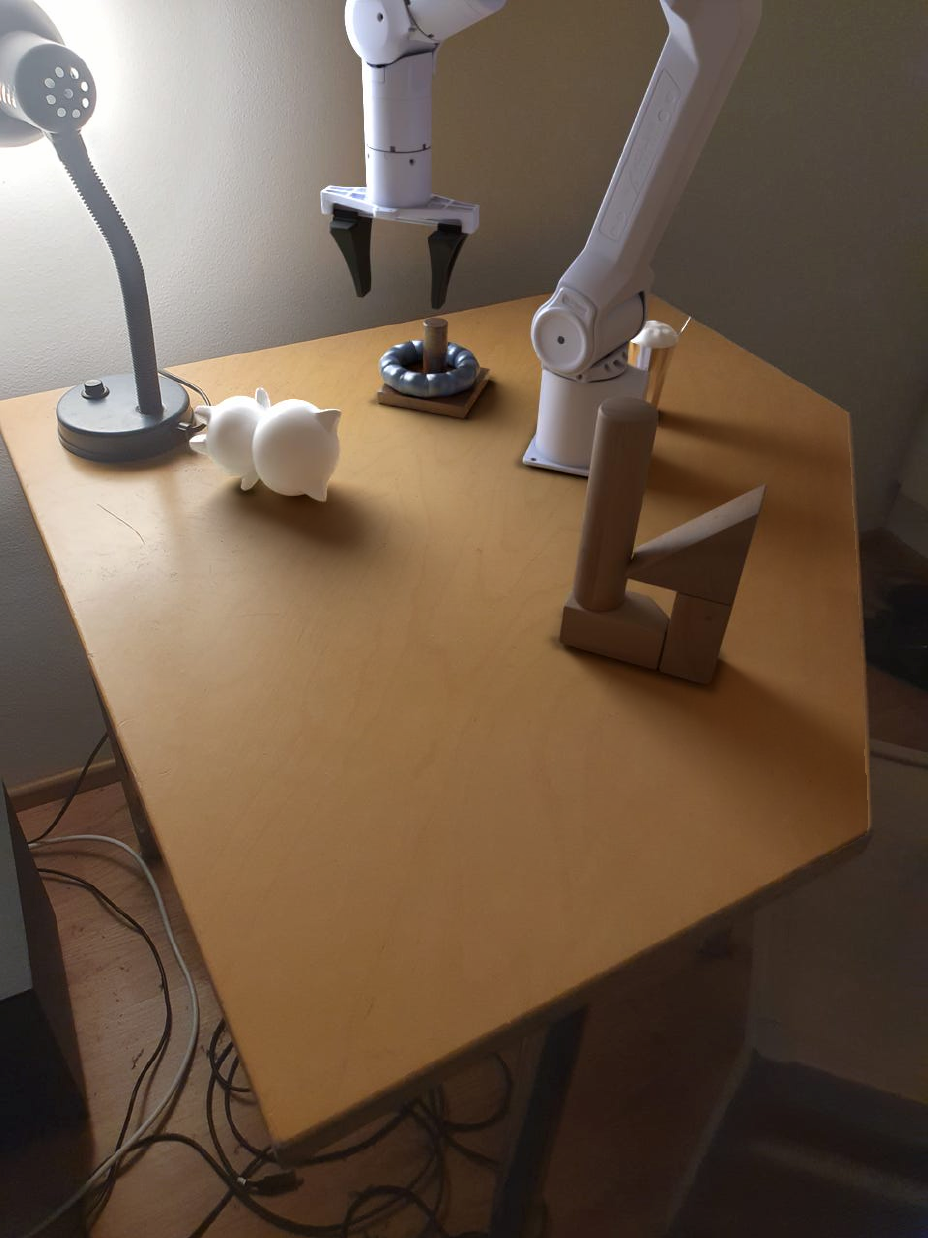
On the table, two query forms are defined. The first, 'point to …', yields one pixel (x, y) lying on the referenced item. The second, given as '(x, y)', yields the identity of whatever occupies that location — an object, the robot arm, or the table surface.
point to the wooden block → (651, 559)
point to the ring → (428, 383)
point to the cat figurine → (272, 443)
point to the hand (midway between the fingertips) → (400, 299)
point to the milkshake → (654, 355)
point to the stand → (435, 364)
